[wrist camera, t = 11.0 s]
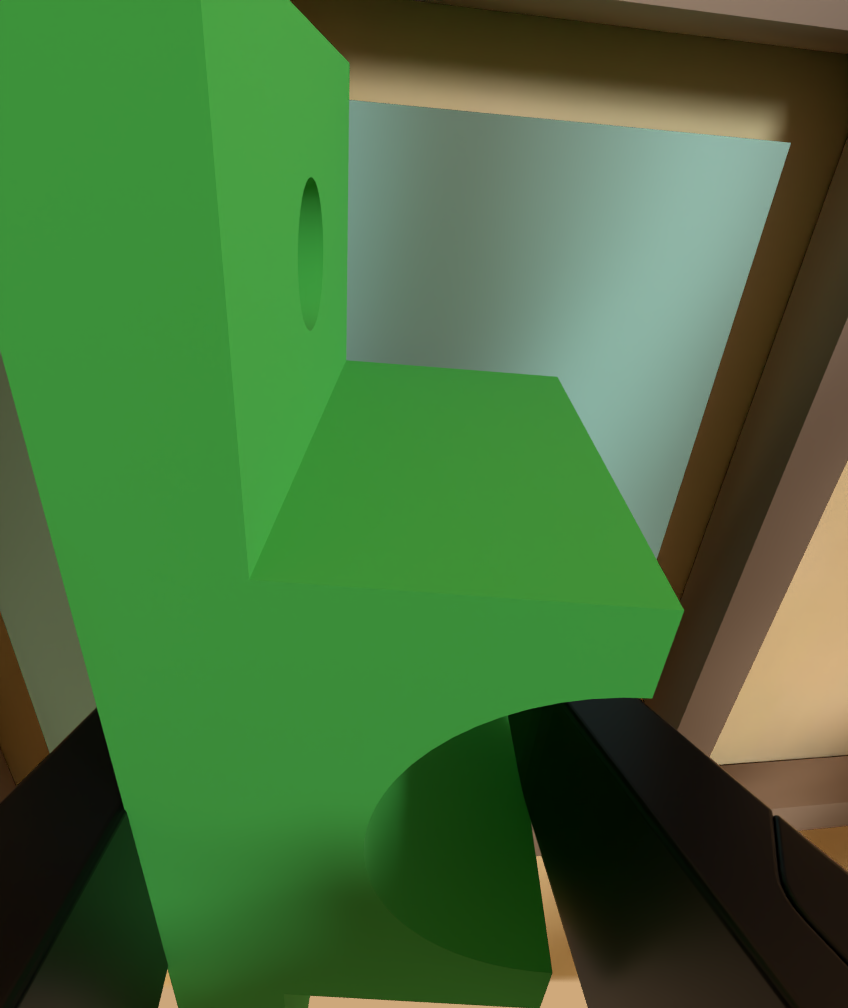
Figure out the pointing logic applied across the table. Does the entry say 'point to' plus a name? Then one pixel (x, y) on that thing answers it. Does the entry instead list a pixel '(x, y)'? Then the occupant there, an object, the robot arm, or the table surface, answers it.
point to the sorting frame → (577, 349)
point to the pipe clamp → (290, 521)
